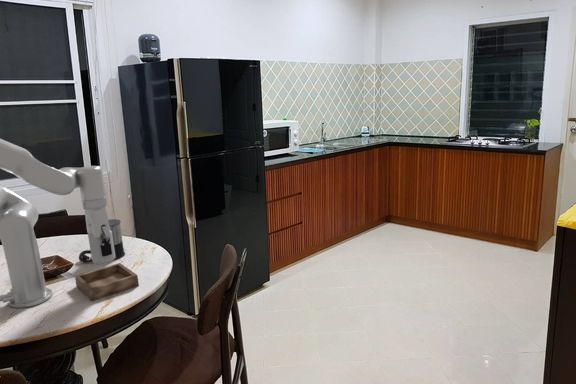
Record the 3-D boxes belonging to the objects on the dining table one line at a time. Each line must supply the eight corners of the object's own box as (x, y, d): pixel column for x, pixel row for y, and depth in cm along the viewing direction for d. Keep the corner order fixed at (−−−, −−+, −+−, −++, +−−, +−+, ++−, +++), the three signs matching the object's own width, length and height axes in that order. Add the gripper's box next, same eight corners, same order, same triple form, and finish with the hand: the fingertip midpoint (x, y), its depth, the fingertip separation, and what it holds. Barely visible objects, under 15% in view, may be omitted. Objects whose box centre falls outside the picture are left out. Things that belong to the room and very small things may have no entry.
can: (107, 266, 149) (102, 232, 146) (88, 265, 150) (82, 231, 148) (120, 257, 156) (115, 225, 153) (101, 256, 158) (96, 224, 155)
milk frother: (130, 254, 185) (125, 220, 182) (98, 268, 172) (93, 232, 168) (106, 249, 192) (102, 216, 188) (74, 262, 178) (68, 227, 175)
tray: (91, 301, 144) (89, 290, 143) (76, 286, 156) (74, 276, 155) (138, 285, 154) (137, 275, 154) (121, 272, 166) (119, 262, 165)
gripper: (75, 201, 152) (83, 249, 156) (91, 210, 139) (100, 262, 144) (97, 196, 157) (105, 243, 161) (115, 204, 144) (123, 255, 148)
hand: (102, 252), depth 152 cm, fingers closed on can, 7 cm apart
